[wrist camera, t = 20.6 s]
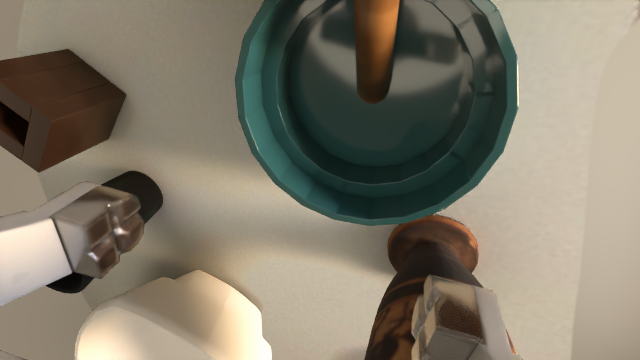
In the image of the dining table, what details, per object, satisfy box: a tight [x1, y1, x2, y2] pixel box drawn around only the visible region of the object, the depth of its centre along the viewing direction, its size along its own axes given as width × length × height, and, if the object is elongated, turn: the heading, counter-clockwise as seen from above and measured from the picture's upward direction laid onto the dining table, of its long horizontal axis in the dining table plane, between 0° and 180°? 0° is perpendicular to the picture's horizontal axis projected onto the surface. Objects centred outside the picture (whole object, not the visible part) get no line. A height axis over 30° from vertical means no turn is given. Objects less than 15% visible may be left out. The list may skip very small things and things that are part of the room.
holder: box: [0, 49, 126, 173], centre depth 31 cm, size 7×7×8 cm
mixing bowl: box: [235, 0, 519, 226], centre depth 24 cm, size 17×17×7 cm
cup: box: [45, 171, 163, 293], centre depth 34 cm, size 8×8×12 cm
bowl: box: [75, 270, 272, 360], centre depth 41 cm, size 22×22×12 cm
